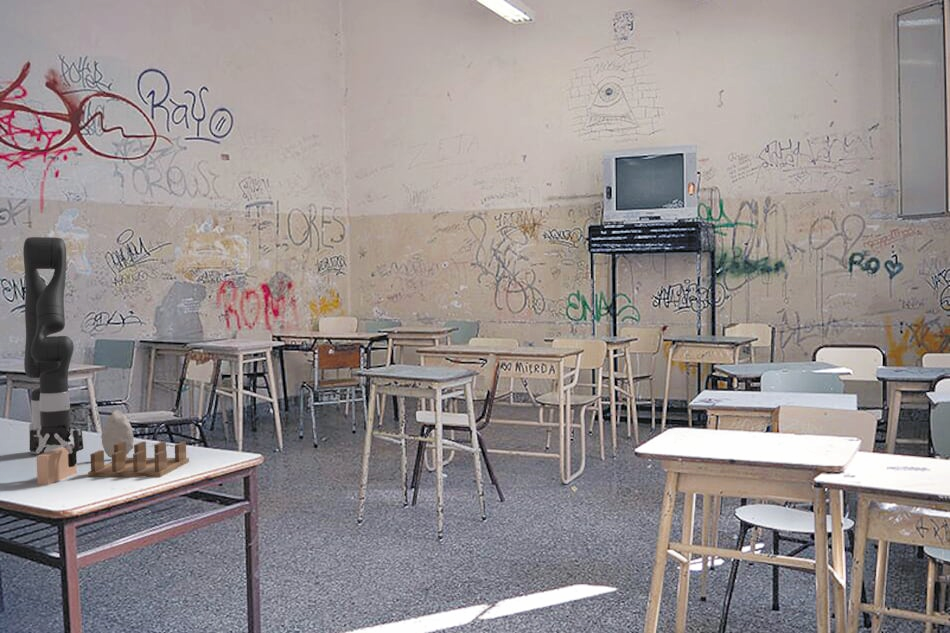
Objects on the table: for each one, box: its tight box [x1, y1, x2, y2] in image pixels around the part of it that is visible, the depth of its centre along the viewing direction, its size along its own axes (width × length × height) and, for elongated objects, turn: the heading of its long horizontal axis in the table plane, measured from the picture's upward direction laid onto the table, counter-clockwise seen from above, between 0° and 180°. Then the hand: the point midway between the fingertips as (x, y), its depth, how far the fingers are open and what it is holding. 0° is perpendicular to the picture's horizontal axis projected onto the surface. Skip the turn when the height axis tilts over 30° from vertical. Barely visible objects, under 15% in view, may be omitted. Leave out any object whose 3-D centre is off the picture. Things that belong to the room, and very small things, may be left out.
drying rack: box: [87, 441, 190, 478], centre depth 250 cm, size 21×19×6 cm
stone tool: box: [100, 409, 135, 459], centre depth 265 cm, size 9×3×15 cm, turn 123°
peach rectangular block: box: [35, 446, 78, 486], centre depth 239 cm, size 3×14×8 cm, turn 175°
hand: (57, 466), depth 239 cm, fingers open, 8 cm apart
